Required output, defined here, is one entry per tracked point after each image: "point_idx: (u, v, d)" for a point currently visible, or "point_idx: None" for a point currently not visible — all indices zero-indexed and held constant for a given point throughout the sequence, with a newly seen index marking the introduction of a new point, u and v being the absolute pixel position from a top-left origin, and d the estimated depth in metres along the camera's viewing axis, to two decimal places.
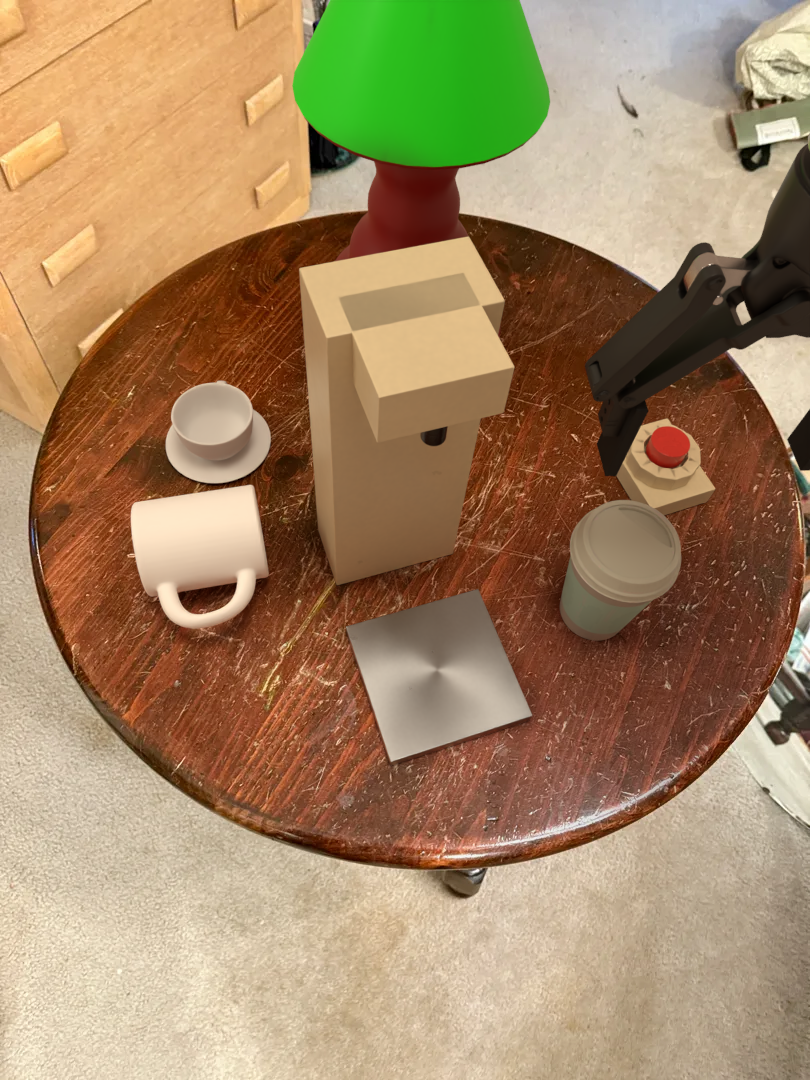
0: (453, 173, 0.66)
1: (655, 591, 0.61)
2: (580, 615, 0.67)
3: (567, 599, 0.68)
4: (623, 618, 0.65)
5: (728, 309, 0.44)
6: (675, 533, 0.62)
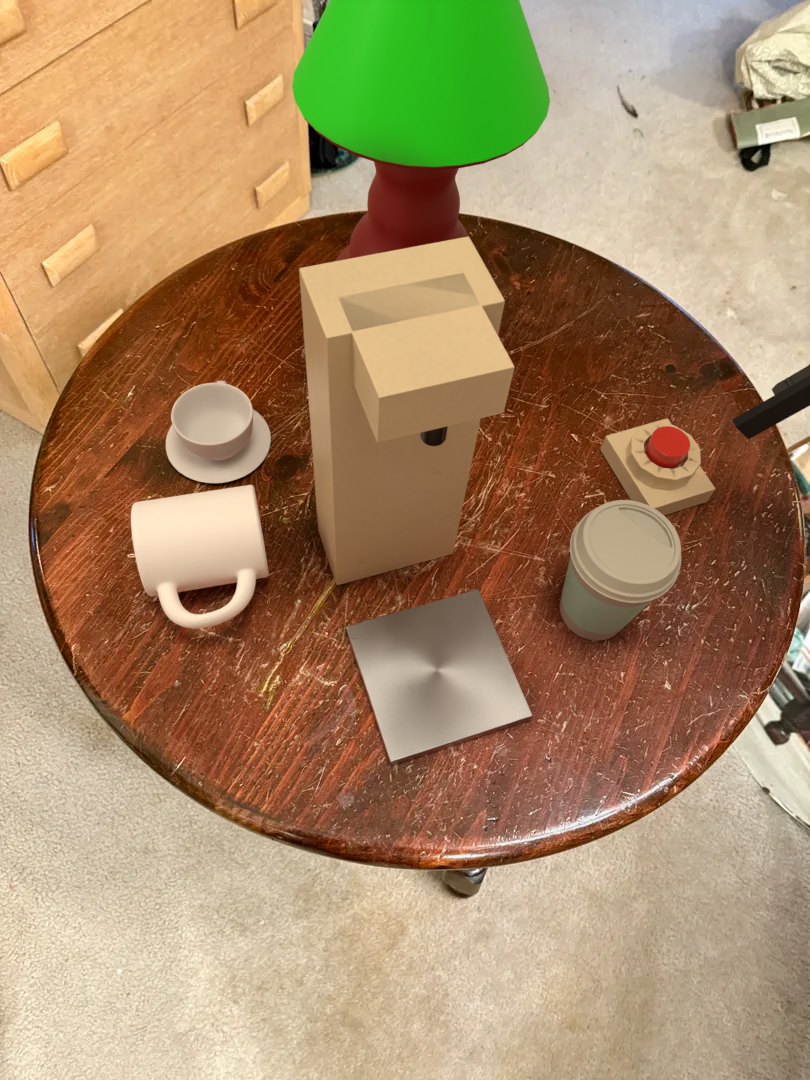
0: (453, 173, 0.66)
1: (655, 591, 0.61)
2: (580, 615, 0.67)
3: (567, 599, 0.68)
4: (623, 618, 0.65)
5: None
6: (675, 533, 0.62)
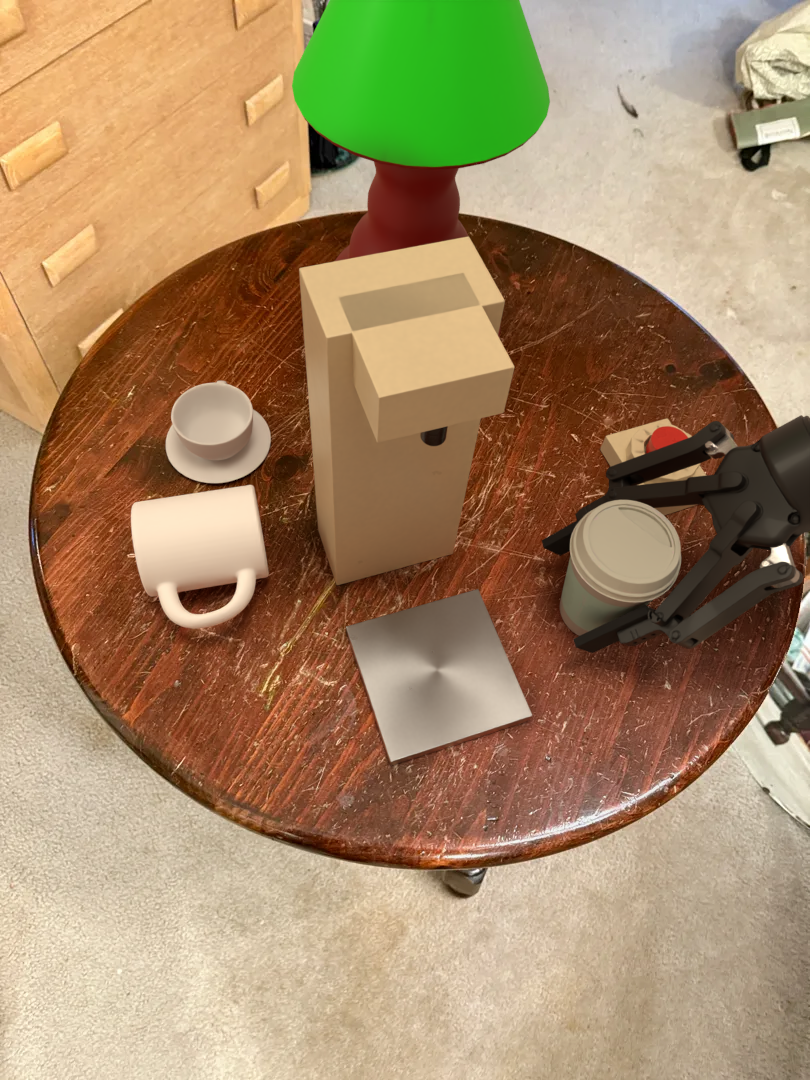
0: (453, 173, 0.66)
1: (655, 591, 0.61)
2: (580, 615, 0.67)
3: (567, 599, 0.68)
4: None
5: None
6: (675, 533, 0.62)
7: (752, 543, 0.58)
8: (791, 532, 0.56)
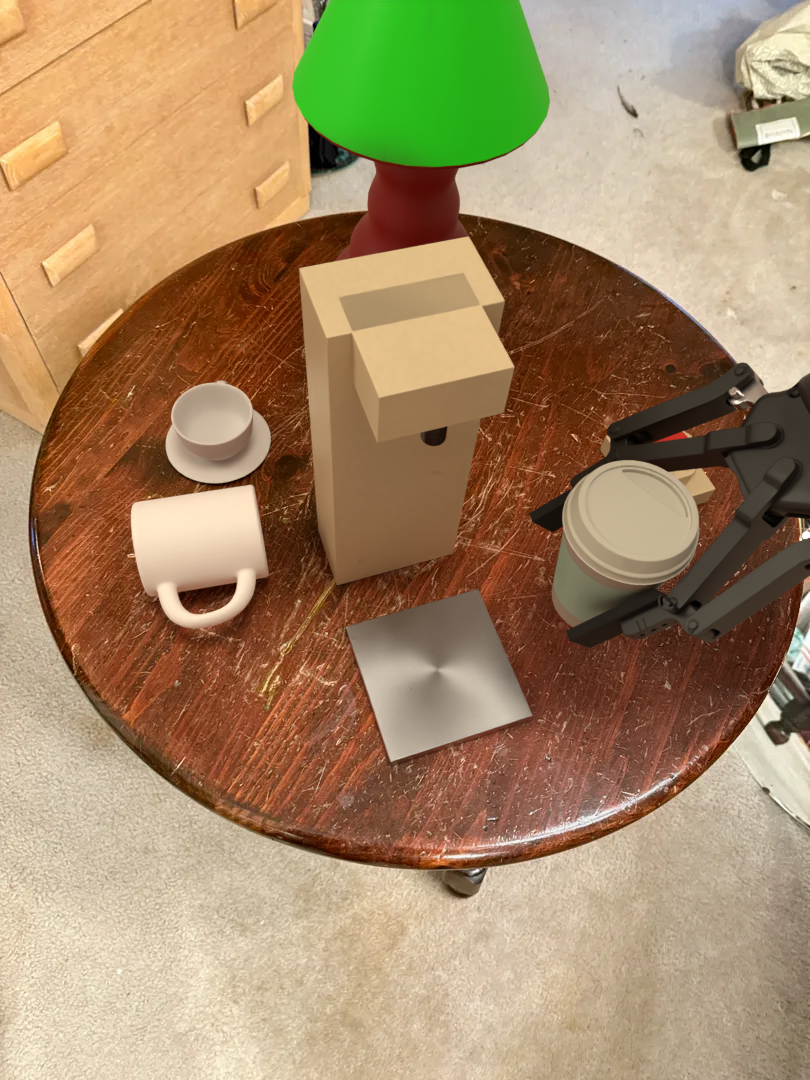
0: (453, 173, 0.66)
1: (667, 571, 0.49)
2: (575, 603, 0.55)
3: (560, 583, 0.56)
4: None
5: None
6: (692, 500, 0.50)
7: (789, 510, 0.46)
8: None
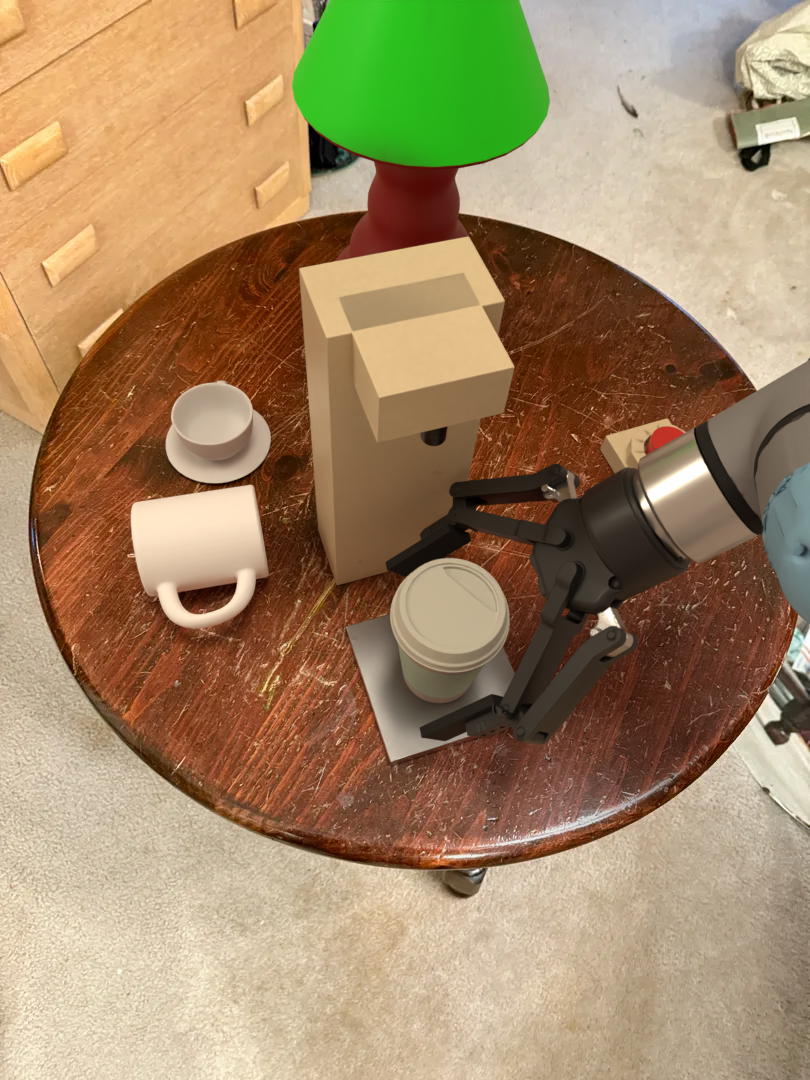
0: (453, 173, 0.66)
1: (475, 660, 0.56)
2: (413, 680, 0.62)
3: (401, 661, 0.63)
4: (454, 684, 0.60)
5: None
6: (501, 595, 0.57)
7: (575, 608, 0.53)
8: (612, 597, 0.51)
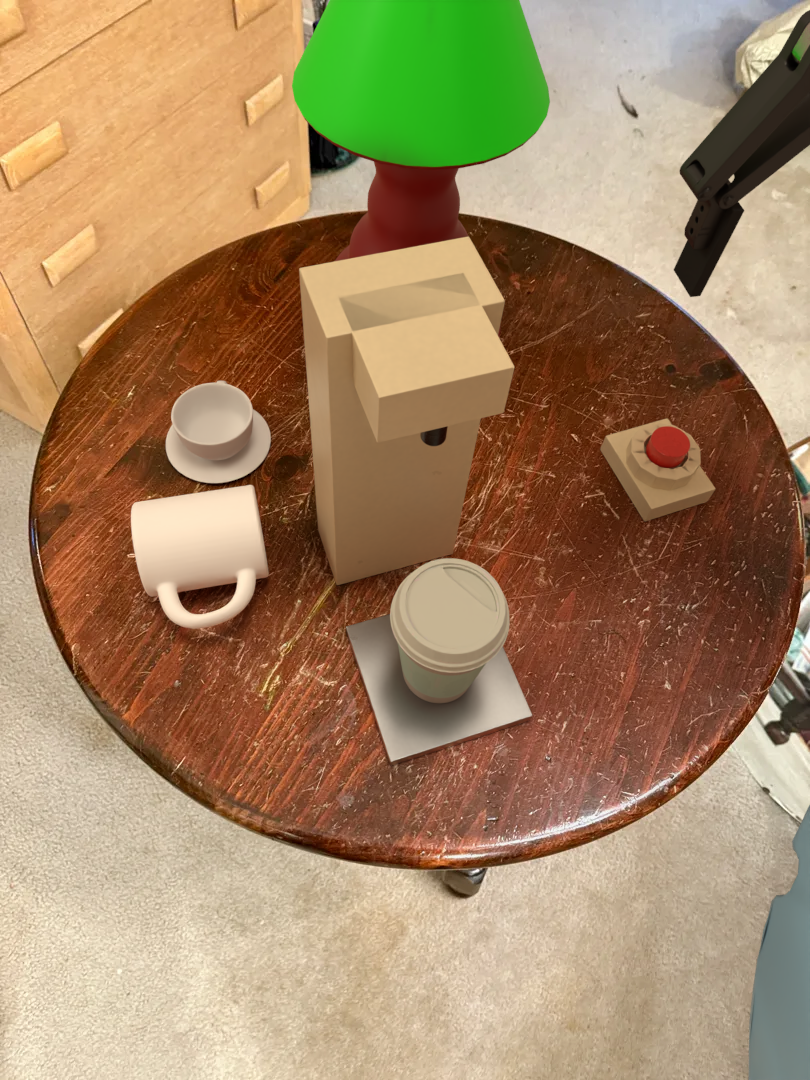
0: (453, 173, 0.66)
1: (475, 660, 0.56)
2: (413, 680, 0.62)
3: (401, 661, 0.63)
4: (454, 684, 0.60)
5: None
6: (501, 596, 0.57)
7: None
8: None
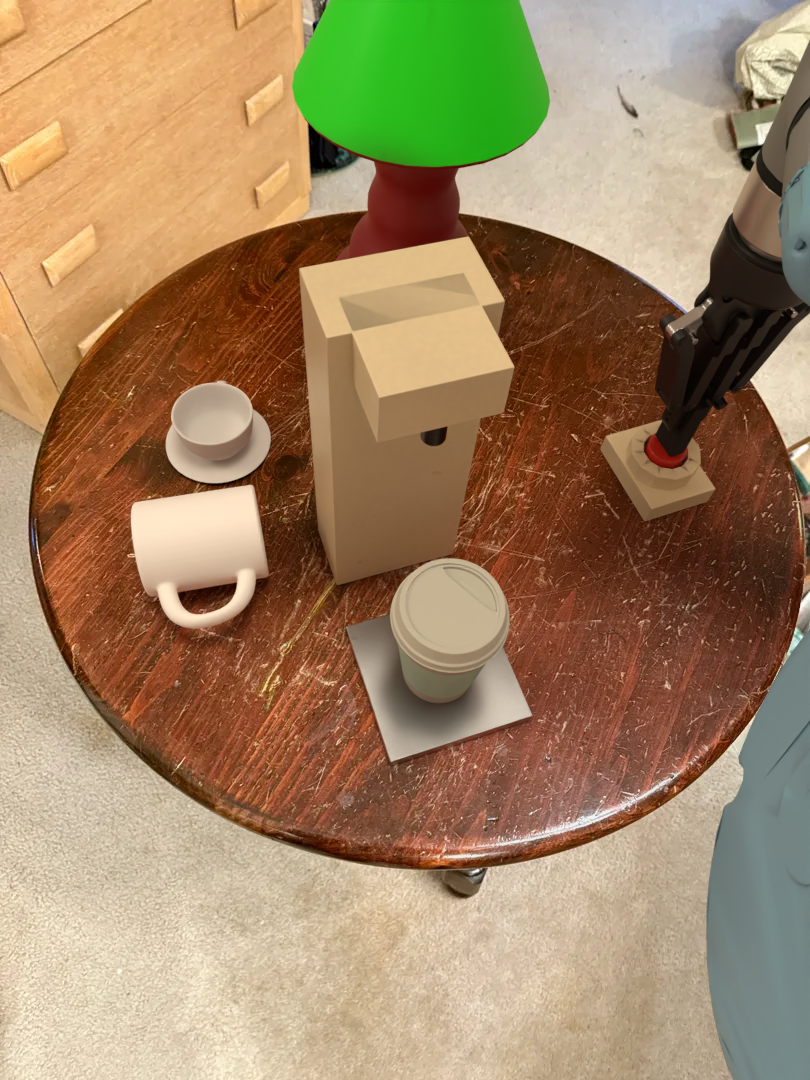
0: (453, 173, 0.66)
1: (475, 661, 0.56)
2: (413, 679, 0.62)
3: (401, 661, 0.63)
4: (454, 684, 0.60)
5: (706, 336, 0.63)
6: (501, 596, 0.57)
7: None
8: None
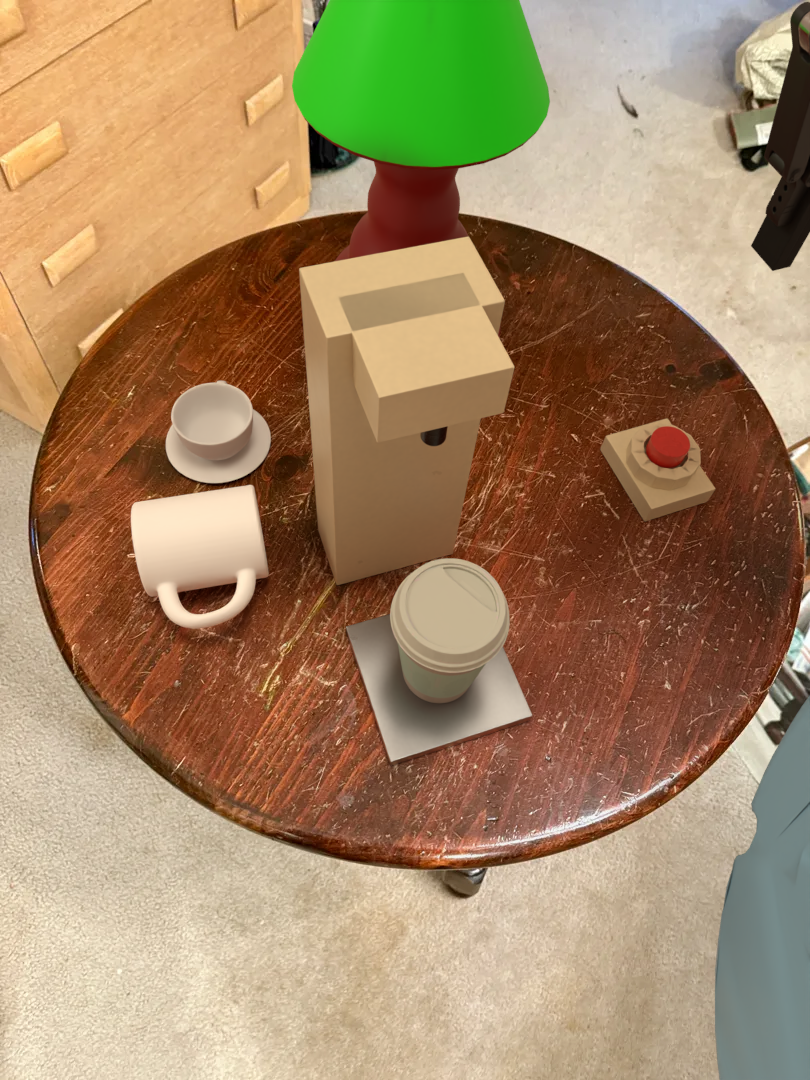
0: (453, 173, 0.66)
1: (475, 661, 0.56)
2: (413, 679, 0.62)
3: (401, 661, 0.63)
4: (454, 684, 0.60)
5: None
6: (501, 596, 0.57)
7: None
8: None
